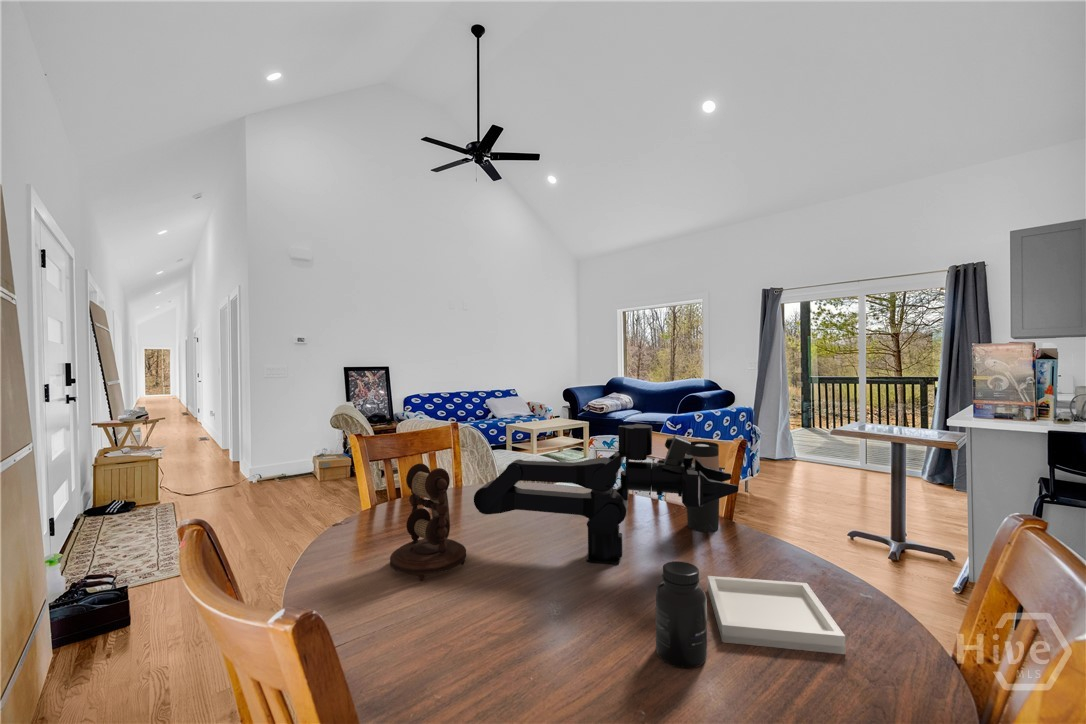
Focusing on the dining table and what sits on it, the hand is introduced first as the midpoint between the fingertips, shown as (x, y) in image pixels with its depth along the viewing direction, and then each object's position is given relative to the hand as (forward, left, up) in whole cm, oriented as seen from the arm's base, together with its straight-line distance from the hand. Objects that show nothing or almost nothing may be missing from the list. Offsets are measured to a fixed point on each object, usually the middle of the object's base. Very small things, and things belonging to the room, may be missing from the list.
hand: (734, 482), depth 94 cm
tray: (+2, -18, -17) cm, 25 cm away
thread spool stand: (-59, -9, -17) cm, 62 cm away
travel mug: (-3, +23, -17) cm, 29 cm away
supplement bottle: (-12, -30, -17) cm, 37 cm away
